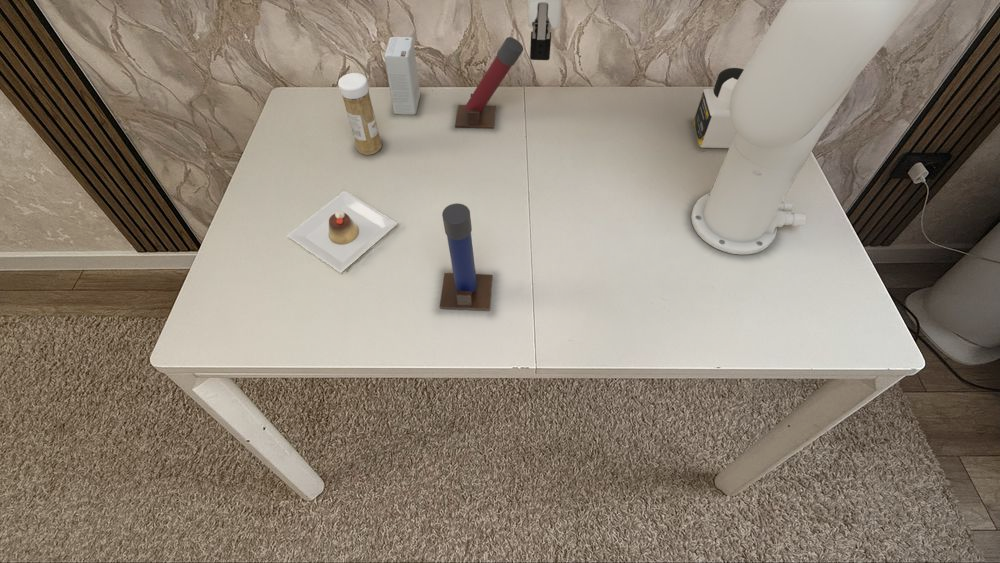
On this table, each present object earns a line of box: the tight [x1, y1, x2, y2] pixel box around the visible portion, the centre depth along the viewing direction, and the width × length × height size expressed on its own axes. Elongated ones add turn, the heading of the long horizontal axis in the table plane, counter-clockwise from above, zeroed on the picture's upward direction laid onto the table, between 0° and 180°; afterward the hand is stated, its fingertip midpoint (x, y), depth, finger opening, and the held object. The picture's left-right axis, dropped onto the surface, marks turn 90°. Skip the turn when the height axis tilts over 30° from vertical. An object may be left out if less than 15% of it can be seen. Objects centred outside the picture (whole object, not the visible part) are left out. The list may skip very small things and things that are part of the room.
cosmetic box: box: [384, 36, 421, 115], centre depth 100 cm, size 6×4×12 cm
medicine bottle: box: [692, 67, 745, 149], centre depth 94 cm, size 7×7×12 cm
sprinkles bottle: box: [337, 72, 383, 156], centre depth 92 cm, size 5×5×14 cm
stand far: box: [454, 93, 497, 130], centre depth 101 cm, size 7×6×3 cm
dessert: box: [286, 190, 398, 274], centre depth 84 cm, size 12×12×5 cm
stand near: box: [439, 272, 494, 312], centre depth 78 cm, size 7×6×3 cm
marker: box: [441, 202, 477, 293], centre depth 72 cm, size 3×3×15 cm
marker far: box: [465, 36, 524, 114], centre depth 96 cm, size 3×3×15 cm
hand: (539, 57), depth 92 cm, fingers closed
